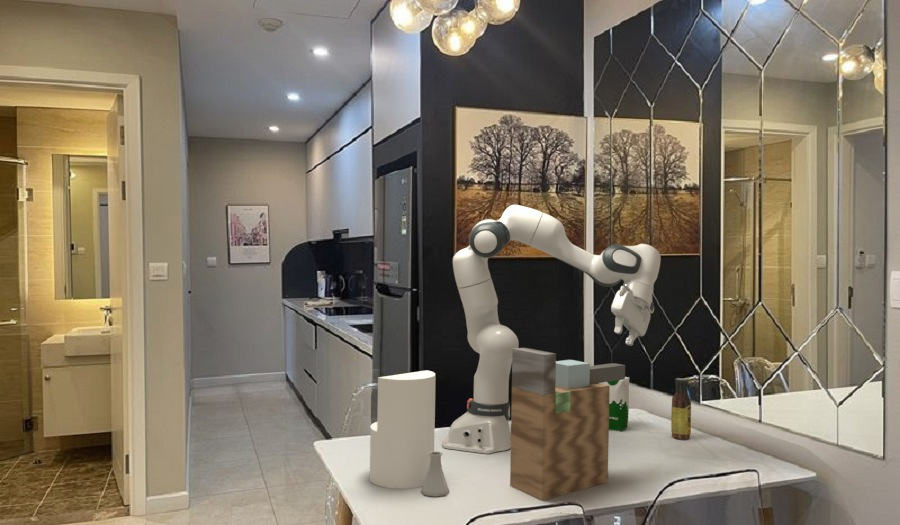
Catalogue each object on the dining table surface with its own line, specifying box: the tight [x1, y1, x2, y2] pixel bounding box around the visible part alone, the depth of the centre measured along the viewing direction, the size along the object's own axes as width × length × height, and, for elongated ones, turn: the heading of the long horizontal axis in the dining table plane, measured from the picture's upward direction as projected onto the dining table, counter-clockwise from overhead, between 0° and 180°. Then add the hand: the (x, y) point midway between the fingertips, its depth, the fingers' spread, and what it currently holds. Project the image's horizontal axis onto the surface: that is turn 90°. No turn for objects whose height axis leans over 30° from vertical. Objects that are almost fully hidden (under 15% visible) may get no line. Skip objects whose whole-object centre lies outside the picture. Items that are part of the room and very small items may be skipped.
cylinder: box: [369, 370, 436, 490], centre depth 175 cm, size 17×17×28 cm
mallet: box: [555, 359, 626, 389], centre depth 177 cm, size 24×7×6 cm, turn 125°
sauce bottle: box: [670, 377, 692, 441], centre depth 219 cm, size 7×6×20 cm
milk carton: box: [601, 376, 630, 432], centre depth 230 cm, size 9×9×20 cm
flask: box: [420, 450, 450, 498], centre depth 164 cm, size 7×7×10 cm
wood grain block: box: [509, 347, 610, 501], centre depth 171 cm, size 24×13×36 cm, turn 125°
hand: (623, 339), depth 190 cm, fingers open, 8 cm apart
